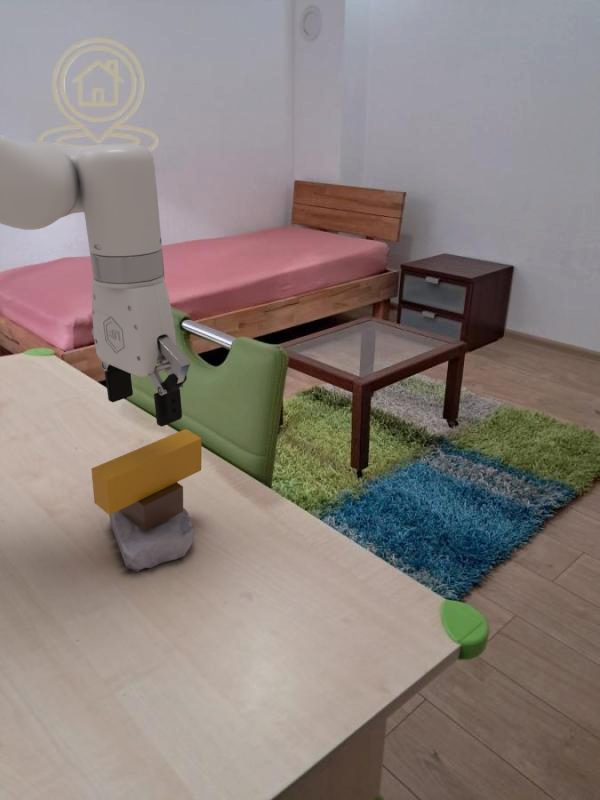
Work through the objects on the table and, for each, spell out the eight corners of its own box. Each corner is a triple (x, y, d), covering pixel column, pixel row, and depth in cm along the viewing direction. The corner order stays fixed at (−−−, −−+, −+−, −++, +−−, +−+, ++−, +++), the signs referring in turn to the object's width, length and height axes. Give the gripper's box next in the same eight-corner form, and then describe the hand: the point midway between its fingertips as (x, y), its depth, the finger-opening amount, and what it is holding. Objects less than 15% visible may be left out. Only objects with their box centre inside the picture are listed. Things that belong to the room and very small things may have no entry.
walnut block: (116, 509, 81) (115, 484, 80) (155, 491, 85) (154, 466, 84) (145, 532, 78) (143, 506, 76) (183, 511, 82) (183, 486, 80)
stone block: (174, 517, 91) (102, 523, 86) (178, 488, 89) (106, 493, 84) (201, 568, 81) (122, 579, 76) (207, 537, 79) (127, 546, 74)
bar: (94, 502, 76) (91, 468, 74) (186, 460, 85) (185, 428, 83) (109, 515, 74) (106, 480, 72) (201, 470, 84) (201, 438, 81)
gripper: (55, 261, 71) (77, 399, 78) (147, 287, 61) (163, 444, 68) (113, 251, 76) (129, 381, 83) (207, 273, 66) (216, 421, 73)
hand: (144, 409), depth 75 cm, fingers open, 9 cm apart
